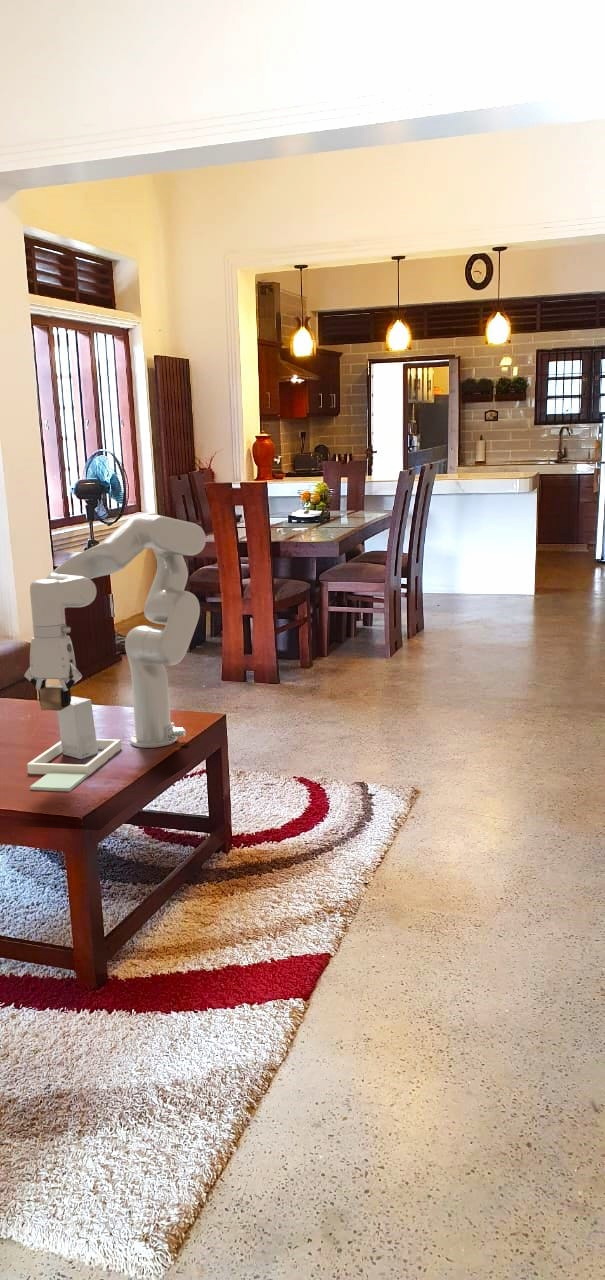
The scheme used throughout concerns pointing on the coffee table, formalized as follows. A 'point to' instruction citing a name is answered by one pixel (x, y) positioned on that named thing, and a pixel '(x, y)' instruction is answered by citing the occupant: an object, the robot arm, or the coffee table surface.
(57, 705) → the walnut block
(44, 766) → the cream rectangular frame
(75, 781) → the tile
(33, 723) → the coffee table surface
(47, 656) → the robot arm
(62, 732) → the skincare box
